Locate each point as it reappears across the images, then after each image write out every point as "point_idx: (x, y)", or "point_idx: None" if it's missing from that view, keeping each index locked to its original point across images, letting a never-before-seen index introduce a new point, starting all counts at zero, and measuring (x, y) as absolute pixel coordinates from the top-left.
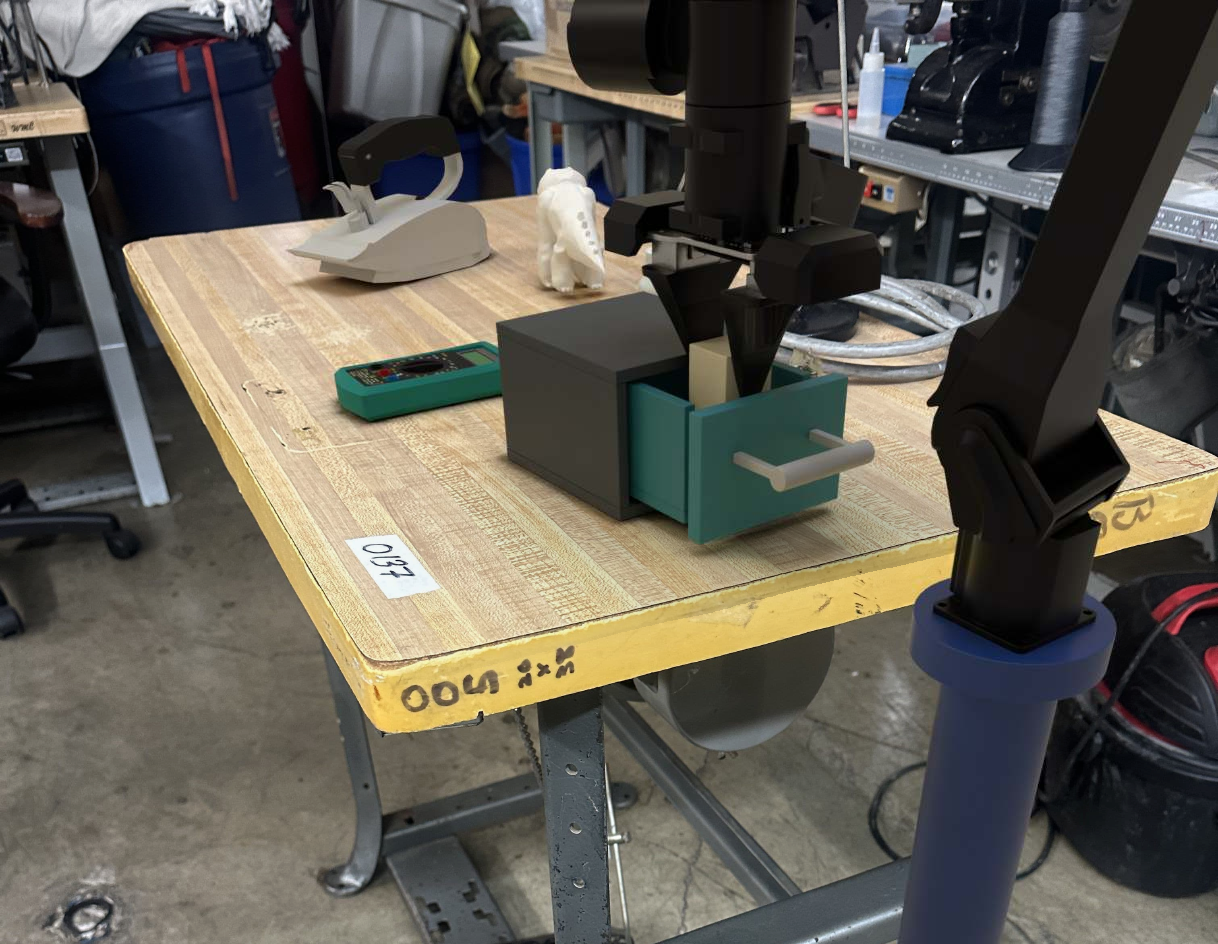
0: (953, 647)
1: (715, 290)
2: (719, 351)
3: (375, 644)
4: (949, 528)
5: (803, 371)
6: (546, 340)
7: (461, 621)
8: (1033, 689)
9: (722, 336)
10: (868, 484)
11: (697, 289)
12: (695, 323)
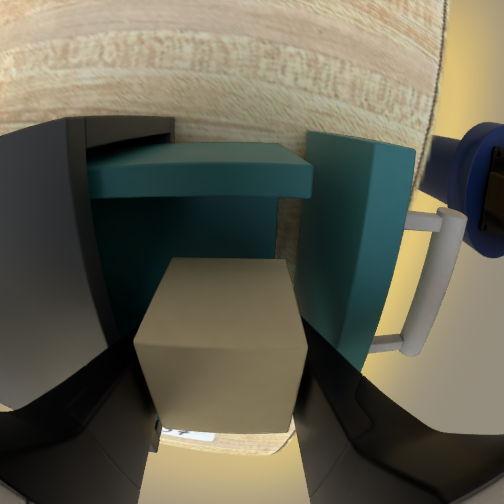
0: (496, 257)
1: (91, 466)
2: (248, 428)
3: (253, 453)
4: (428, 87)
5: (292, 176)
6: (14, 407)
7: (261, 434)
8: None
9: (146, 375)
10: (287, 39)
11: (110, 496)
12: (139, 443)
